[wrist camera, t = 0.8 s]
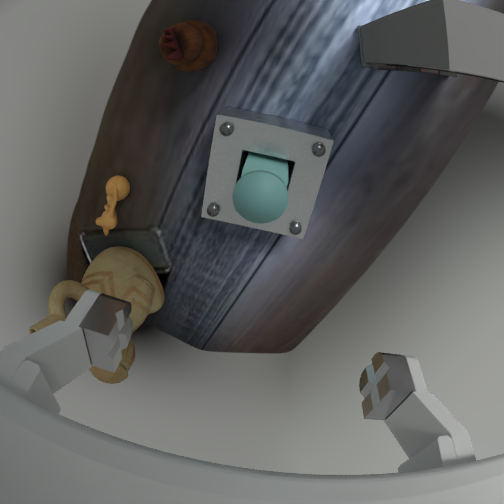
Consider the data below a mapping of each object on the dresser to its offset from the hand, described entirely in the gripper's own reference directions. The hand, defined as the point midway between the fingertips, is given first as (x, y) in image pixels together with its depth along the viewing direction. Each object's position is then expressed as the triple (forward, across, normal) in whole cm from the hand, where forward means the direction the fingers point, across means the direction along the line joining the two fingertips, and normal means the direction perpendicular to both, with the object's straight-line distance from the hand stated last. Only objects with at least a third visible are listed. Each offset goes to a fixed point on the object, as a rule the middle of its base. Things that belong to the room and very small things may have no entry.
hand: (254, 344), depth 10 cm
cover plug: (+38, 0, +5) cm, 38 cm away
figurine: (+38, +21, +13) cm, 46 cm away
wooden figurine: (+38, +12, -10) cm, 41 cm away
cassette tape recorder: (+37, -15, -17) cm, 44 cm away
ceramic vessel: (+39, +21, +31) cm, 54 cm away
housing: (+38, 0, +5) cm, 38 cm away
